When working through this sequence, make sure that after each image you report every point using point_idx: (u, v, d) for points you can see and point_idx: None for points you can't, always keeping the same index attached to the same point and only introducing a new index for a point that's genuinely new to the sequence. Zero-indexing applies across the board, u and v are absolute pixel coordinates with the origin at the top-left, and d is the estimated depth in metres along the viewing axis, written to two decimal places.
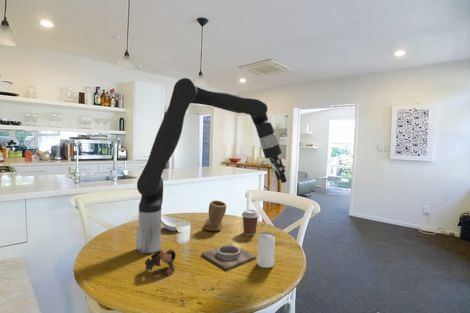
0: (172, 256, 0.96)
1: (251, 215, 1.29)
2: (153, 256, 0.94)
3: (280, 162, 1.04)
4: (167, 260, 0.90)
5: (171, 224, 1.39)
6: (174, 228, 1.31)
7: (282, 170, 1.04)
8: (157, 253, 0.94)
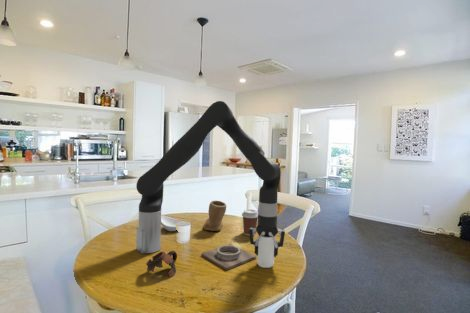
0: (174, 257, 0.95)
1: (251, 215, 1.29)
2: (154, 257, 0.93)
3: None
4: (169, 261, 0.89)
5: (170, 224, 1.39)
6: (172, 228, 1.31)
7: None
8: (158, 254, 0.93)
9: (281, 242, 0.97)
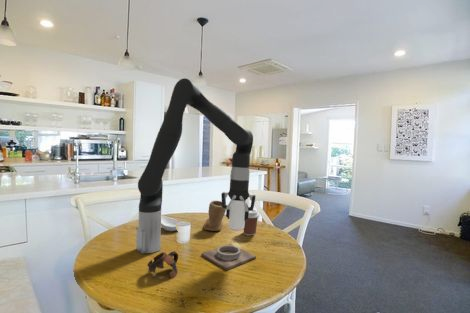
0: (175, 258, 0.95)
1: (251, 215, 1.29)
2: (155, 258, 0.92)
3: None
4: (170, 262, 0.88)
5: (169, 224, 1.39)
6: (171, 228, 1.31)
7: None
8: (160, 255, 0.93)
9: (251, 206, 1.00)
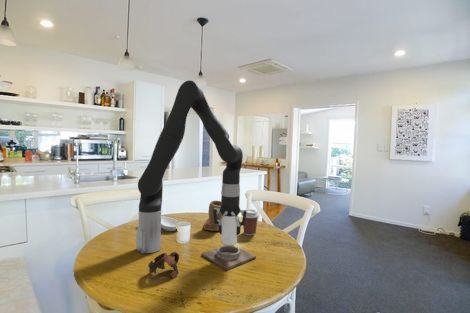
0: (175, 258, 0.94)
1: (251, 215, 1.29)
2: (156, 259, 0.92)
3: None
4: (171, 263, 0.88)
5: (168, 224, 1.39)
6: (170, 228, 1.31)
7: None
8: (160, 256, 0.92)
9: (243, 221, 1.03)
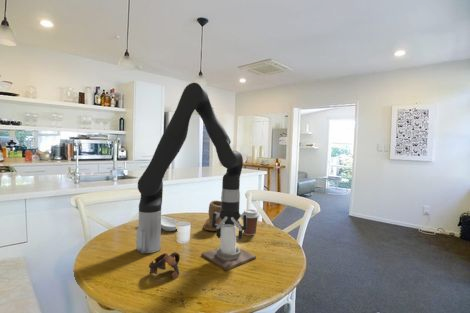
0: (176, 259, 0.94)
1: (251, 215, 1.29)
2: (157, 259, 0.91)
3: (213, 216, 1.05)
4: (172, 263, 0.88)
5: (167, 224, 1.39)
6: (169, 228, 1.31)
7: None
8: (161, 256, 0.92)
9: (244, 225, 1.02)
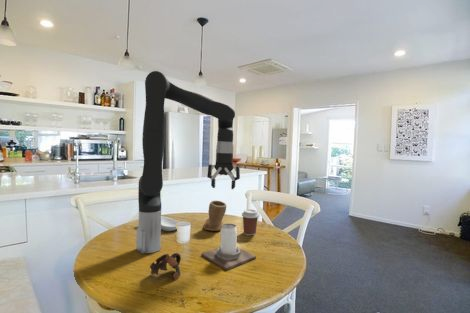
0: (177, 259, 0.93)
1: (251, 215, 1.29)
2: (158, 260, 0.91)
3: None
4: (173, 264, 0.87)
5: (167, 224, 1.39)
6: (169, 228, 1.31)
7: (208, 175, 1.13)
8: (162, 257, 0.91)
9: (237, 176, 1.11)
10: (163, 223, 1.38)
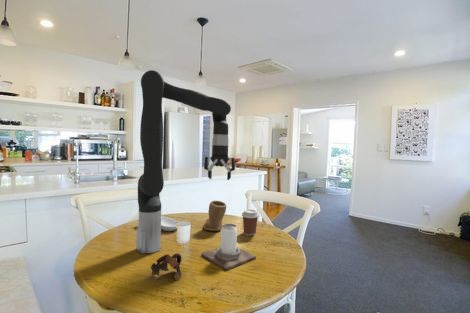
0: (178, 260, 0.93)
1: (251, 215, 1.29)
2: (159, 260, 0.91)
3: None
4: (174, 264, 0.87)
5: (166, 224, 1.39)
6: (168, 228, 1.31)
7: None
8: (163, 257, 0.91)
9: (232, 167, 1.16)
10: (162, 223, 1.38)
